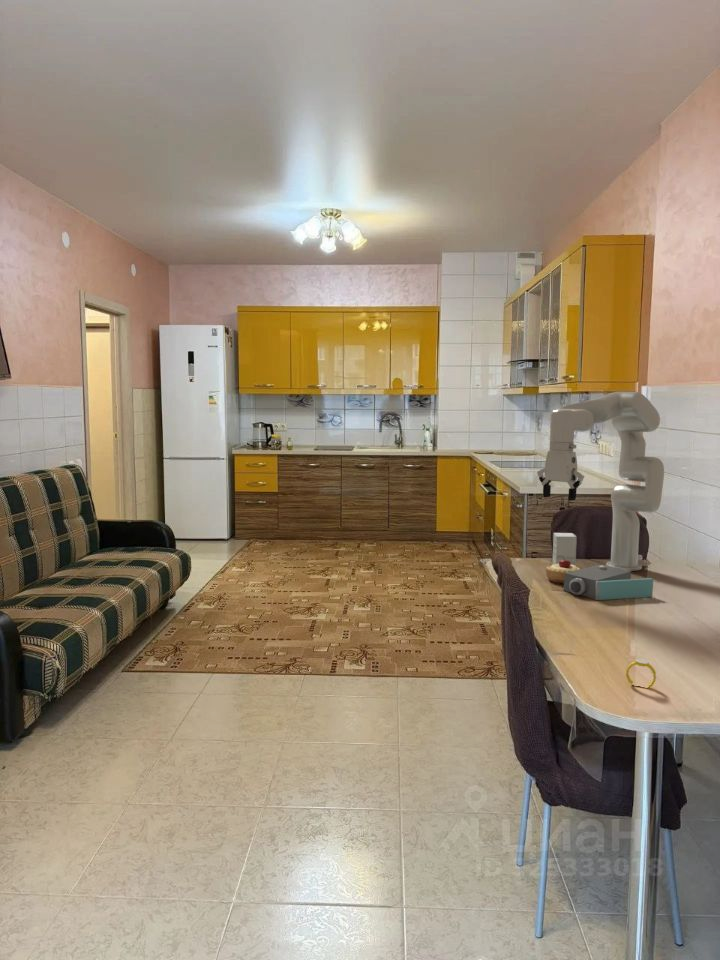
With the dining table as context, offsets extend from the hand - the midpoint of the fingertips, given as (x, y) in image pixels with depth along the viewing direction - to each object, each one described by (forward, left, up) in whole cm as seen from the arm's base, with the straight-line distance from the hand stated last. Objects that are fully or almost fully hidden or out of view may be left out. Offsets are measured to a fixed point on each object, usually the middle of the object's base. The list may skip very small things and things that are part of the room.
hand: (559, 498), depth 230 cm
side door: (-6, +21, -30) cm, 37 cm away
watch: (+54, +61, -30) cm, 87 cm away
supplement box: (-26, -16, -30) cm, 43 cm away
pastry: (-9, -4, -31) cm, 32 cm away
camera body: (-7, +10, -30) cm, 33 cm away
